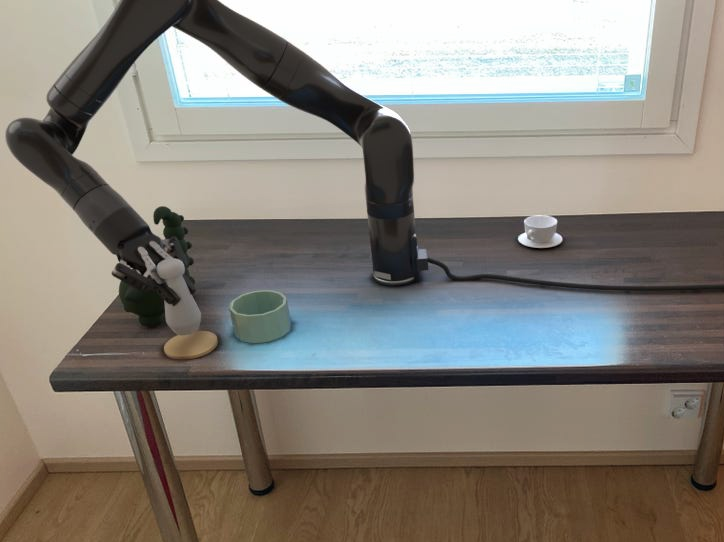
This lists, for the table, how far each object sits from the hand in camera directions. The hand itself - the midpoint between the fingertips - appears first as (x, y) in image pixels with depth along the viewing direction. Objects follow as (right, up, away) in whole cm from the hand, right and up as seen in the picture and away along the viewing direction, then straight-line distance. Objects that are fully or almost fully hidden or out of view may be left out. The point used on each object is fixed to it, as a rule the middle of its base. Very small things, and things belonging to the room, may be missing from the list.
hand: (185, 298), depth 125 cm
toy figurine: (-10, -1, +18) cm, 21 cm away
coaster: (-1, -8, +6) cm, 10 cm away
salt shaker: (-1, -5, +4) cm, 7 cm away
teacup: (+64, +16, +42) cm, 78 cm away
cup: (+10, -5, +10) cm, 15 cm away
